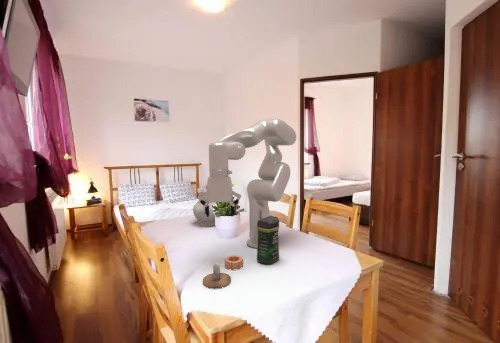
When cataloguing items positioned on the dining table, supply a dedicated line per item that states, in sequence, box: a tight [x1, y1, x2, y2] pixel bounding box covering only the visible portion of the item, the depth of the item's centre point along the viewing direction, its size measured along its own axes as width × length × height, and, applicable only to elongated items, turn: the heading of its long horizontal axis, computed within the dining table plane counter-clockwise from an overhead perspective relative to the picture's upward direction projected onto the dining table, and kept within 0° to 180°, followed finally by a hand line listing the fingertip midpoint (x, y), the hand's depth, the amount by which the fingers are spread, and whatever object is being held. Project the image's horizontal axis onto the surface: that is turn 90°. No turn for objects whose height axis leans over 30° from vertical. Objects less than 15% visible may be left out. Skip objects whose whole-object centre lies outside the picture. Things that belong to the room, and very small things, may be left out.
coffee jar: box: [256, 215, 280, 265], centre depth 118 cm, size 10×8×19 cm
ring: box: [224, 254, 244, 271], centre depth 114 cm, size 7×7×3 cm
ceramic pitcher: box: [192, 183, 216, 227], centre depth 170 cm, size 22×20×25 cm
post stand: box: [202, 263, 232, 290], centre depth 101 cm, size 10×10×6 cm
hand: (219, 215), depth 114 cm, fingers open, 9 cm apart
